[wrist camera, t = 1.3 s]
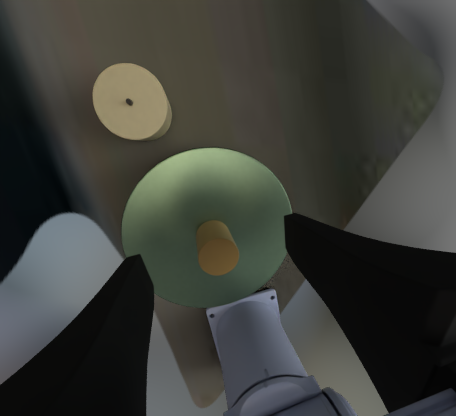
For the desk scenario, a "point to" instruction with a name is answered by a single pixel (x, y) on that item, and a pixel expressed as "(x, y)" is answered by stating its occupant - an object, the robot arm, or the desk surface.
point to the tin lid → (207, 226)
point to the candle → (131, 102)
